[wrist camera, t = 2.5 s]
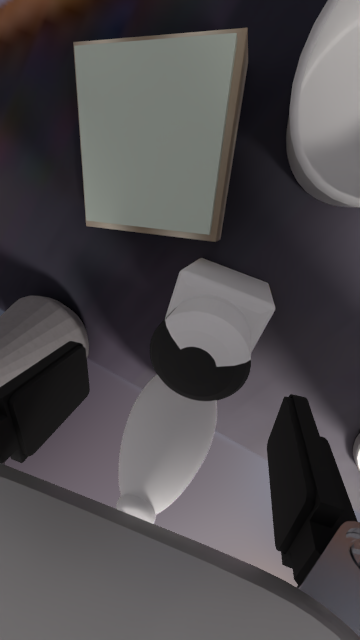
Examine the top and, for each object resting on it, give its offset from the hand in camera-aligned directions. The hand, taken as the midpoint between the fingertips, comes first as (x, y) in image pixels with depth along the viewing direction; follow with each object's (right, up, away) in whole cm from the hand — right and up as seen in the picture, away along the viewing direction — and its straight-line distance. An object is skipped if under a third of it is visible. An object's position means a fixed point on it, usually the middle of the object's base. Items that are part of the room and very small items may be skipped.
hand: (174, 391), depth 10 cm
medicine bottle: (+4, +5, +13) cm, 15 cm away
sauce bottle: (+2, -4, +18) cm, 18 cm away
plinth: (-1, +17, +9) cm, 20 cm away
